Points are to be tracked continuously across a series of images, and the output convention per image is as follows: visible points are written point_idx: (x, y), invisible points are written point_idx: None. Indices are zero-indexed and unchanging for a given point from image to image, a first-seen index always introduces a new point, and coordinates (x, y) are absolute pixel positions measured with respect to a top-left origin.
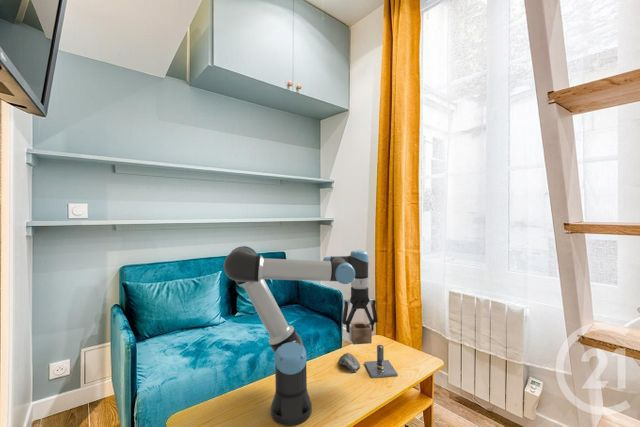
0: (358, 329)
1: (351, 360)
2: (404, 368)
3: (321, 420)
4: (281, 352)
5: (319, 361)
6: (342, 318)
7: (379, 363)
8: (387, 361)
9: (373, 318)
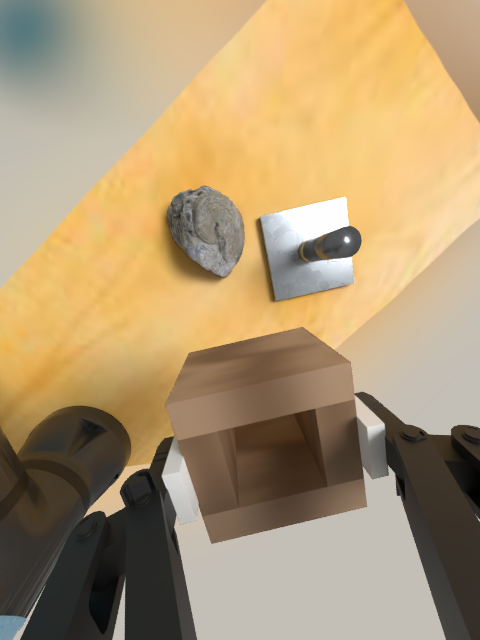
0: (258, 525)
1: (214, 242)
2: (382, 238)
3: None
4: None
5: (97, 211)
6: (52, 590)
7: (312, 260)
8: (340, 208)
9: (469, 457)
